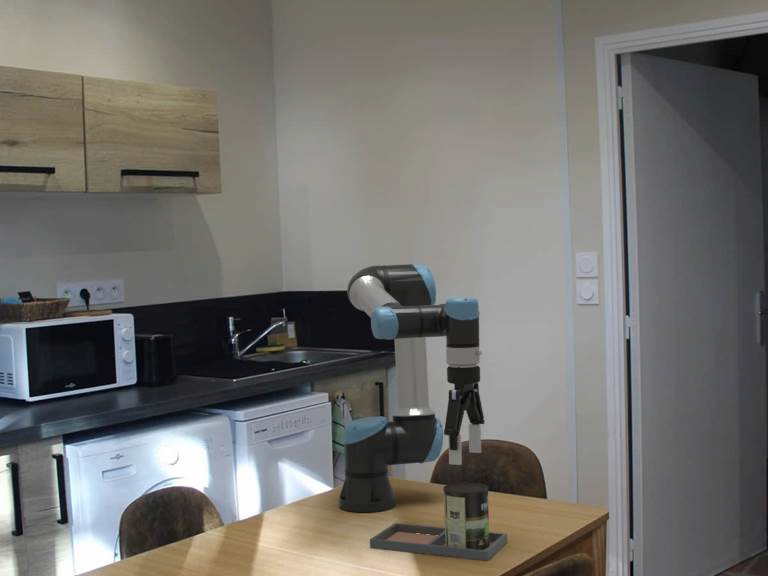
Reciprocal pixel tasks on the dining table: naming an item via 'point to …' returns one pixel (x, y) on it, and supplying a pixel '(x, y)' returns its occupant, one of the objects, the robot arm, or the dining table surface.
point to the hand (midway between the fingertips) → (465, 458)
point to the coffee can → (466, 515)
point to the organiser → (431, 542)
